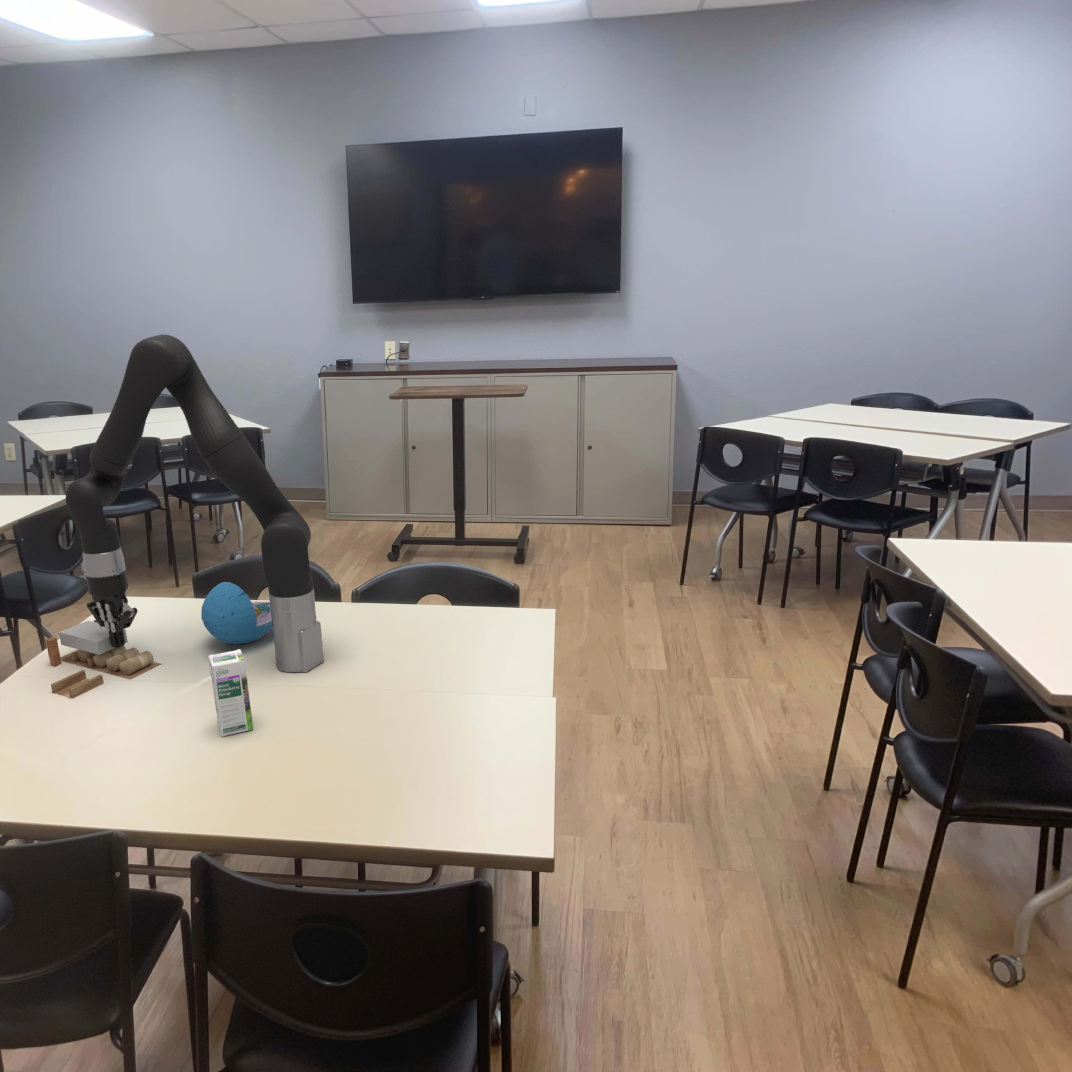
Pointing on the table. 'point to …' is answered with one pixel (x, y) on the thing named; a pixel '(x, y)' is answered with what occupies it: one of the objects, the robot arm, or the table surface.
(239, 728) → the syrup box
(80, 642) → the slab
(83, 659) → the dowel
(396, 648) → the table surface
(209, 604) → the educational model
